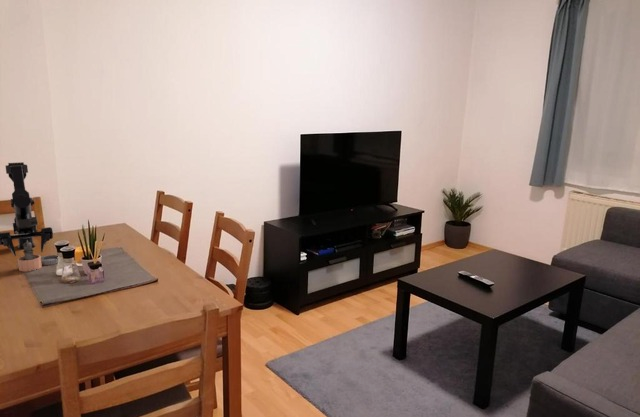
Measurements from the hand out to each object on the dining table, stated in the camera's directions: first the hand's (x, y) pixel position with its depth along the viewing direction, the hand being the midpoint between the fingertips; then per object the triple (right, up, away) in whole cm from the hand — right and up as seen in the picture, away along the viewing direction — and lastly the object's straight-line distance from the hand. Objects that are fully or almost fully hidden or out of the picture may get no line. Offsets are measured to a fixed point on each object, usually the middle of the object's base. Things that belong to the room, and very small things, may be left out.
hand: (28, 253), depth 185 cm
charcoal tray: (+3, -5, +10) cm, 11 cm away
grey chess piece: (-1, -6, +3) cm, 7 cm away
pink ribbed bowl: (-1, -6, +3) cm, 7 cm away
